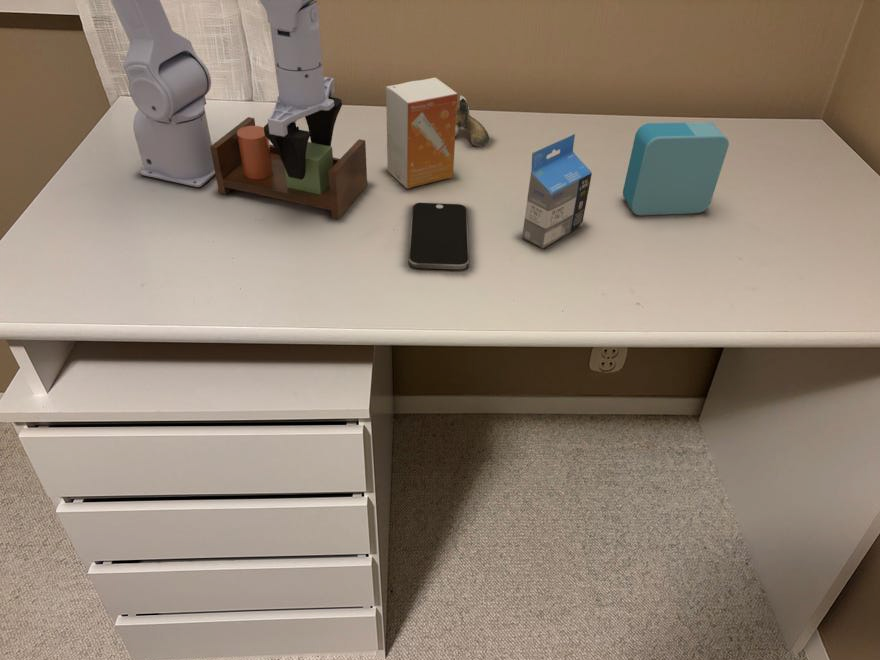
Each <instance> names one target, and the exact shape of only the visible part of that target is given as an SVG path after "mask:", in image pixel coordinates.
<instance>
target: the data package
mask: <svg viewBox="0 0 880 660" xmlns="http://www.w3.org/2000/svg"><path fill="white" fill-rule="evenodd" d="M729 145H730V142H729V139H728V137H727V136H726V135H725V134H724V133H723V132H722V131H721V130H720V129H719V128H718V127H717V126H716V124H715V123H713V122H710V121H708V122H707V121H700V122H699V121H696V122H694V121H693V122H691V121H690V122H648V123H644V124H642V125H641V126H640V127H639V128H638V129H637V130H636V132H635V135H634V139H633V144H632V149H631V153H630V158H629V161H628V165H627V171H626V176H625V180H624V184H623V188H622V196H623V198H624V200H625V202H626V203H627V205H628V206H629V209H630V210H631V211H632V212H633V214H635V215H636V216H661V215H663V216H665V215H685V214H701V213H703V212H704V211H706V210H707V209H708V208H709V207H710V205H711V203H712V199H713V196H714V193H715V190H716V187H717V184H718V181H719V177H720V175H721V171H722V167H723V165H724V162H725V159H726V156H727V152H728V149H729V147H730V146H729Z"/></svg>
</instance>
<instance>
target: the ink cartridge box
mask: <svg viewBox="0 0 880 660" xmlns="http://www.w3.org/2000/svg"><path fill="white" fill-rule="evenodd" d="M575 138H576V133H573V134H571V135H569V136H567V137H565V138H563V139H561V140H558V141H555V142H553V143H551V144H549V145H547V146H544V147H543V148H540V149H538V150H536V151H534V152H532V153H531V168H530V177H529V185H528V193H527V198H526V199H527V200H526V206H525V213H524V215H525V216H524V220H523V221H524V222H523V228H522V235H521V238H522V239H524V240H525V241H528V242H529V243H531V244H533V245H535V246H537V247H538V248H541V249H545V248H547V247H548V246H550V245H552V244H553V243H555V242H557V241H558V240H560V239H562V238H563V237H565V236H567V235H569V234H570V233H572V232H574V231H575V230H577V229H579V228H580V227H582V226H583V223H584V217H585V211H586V206H587V201H588V196H589V189H590V186H591V179H592V175H593V173H592V170H590V169H589V167H587V165H586V164H585V163H584V162H583V161H582V160H581V158H579V157H578V156H577V155H576V154H575V152H574V147H575V146H574V144H575ZM554 150H555V151H556V152H558V151H559V153H557V154H555V155H552V156H551V157H548V156H549V155H551V154H552V153H553V151H554ZM547 157H548V158H547Z"/></svg>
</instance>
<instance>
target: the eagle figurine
mask: <svg viewBox="0 0 880 660" xmlns="http://www.w3.org/2000/svg"><path fill="white" fill-rule="evenodd" d="M458 98H459V101H458V102H459V107H458V108H457V112H456V130H455V137H456V136H457V135H458V133H459V130H460V129H461V128H463V129H464V130H466V131H467V132H468V134H469V138H470V143H471V145H472V146H475V147H480V148H482V147H485V146H486V145H488V143H489V142H490V141H489V140H490V136H489V133H488V131H487V129H486V128H485V126H483V124H482V123H481V122H479V121H478V120H477V119H476V118H474V117H472V115H470V107H469V105H468V101H467V99H466V98H465V96H463V95H459V97H458Z"/></svg>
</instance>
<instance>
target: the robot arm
mask: <svg viewBox="0 0 880 660" xmlns="http://www.w3.org/2000/svg"><path fill="white" fill-rule="evenodd" d="M258 1H259V2H260V4H261V5H262V6H263V7H264V8H263V9H264V10H265V12H266V16H267V23H269V27H270V37H271V43H272V52H273V60H274V67H275V75H276V84H277V93H278V96H277V99H276V101H275V105H274V107H273V111H272V113H271V115H270V116H269V117H268V118H267V123H266V124H265V125H264V126H263V128H264V134H265V136H266V137H267V138H268V139H269V143H271V145H273V146H274V147H275V149H276V150H277V152H278V154H279V156H280V158H281V160H282V162H283V165H284V167H285V170H286V172H287V174H288V176H289V177H291V178H296V179H301V180H302V179H303V178H304V177H305V172H306V148H307V143H308V142H309V140H310V142H311V143H316V144H320V145H325V146H330V147H332V141H333V134H334V129H335V124H336V121H337V118H338V115H339V113H340V111H341V108H342V106H343V100H342V99H341V98H339V97H334V96H332V95H334V94H336V93H335V92H336V91H335V90H336V89H335V78H333V77H327V76H325V75H324V74H325V73H324V64H323V52H322V51H323V50H322V37H321V27H320V16H319V5H318V0H258ZM110 2H111V5H112V6H113V8H114V11H115V13H116V15H117V17H118V19H119V22H120V24H121V26H122V28H123V31H124V32H125V35H126V38H127V39H128V42H129V45H128V49H127V52H126V54H125V57H124V61H123V63H122V68H123V70H124V73H125V75H126V77H127V80H128V88H129V94H130V97H131V99H132V101H133V103H134V105H135V106H136V108H137V111H136V112H135V115H134V117H133V133H134V137H135V141H136V144H137V148H138V152H139V155H140V160H141V164H142V167H143V169H142V170H141V171H140V174H141V176H145V177H148V178H153V179H157V180H162V181H167V182H172V183H176V184H181V185H184V186H185V185H186V186H190V187H195V188H200V187H202V186H204V185H205V184H206V183H208V181H209V180H211V179H212V178H213V177H214V176H216V174H215V169H214V164H213V159H212V154H211V149H210V146H211V145H213V144H212V138H211V133H210V128H209V123H208V117H207V113H206V108H205V105H207V100H206V96H207V94H208V93H209V92H210V90H211V87H212V78H211V77H212V76H211V74H210V71H209V69H208V67H207V66H206V64H205V62H204V61H203V60H202V59H201V58H200V57H199V55H198V54H197V53H196V50H195V49H194V47H193V45H192V42H191V41H190V39H188V38H186V37H184V36H182V35H181V34H179V33H178V32H175V31H174V30H173V28H172V25H171V24H170V20H169V18H168V16H167V14H166V12H165V8H164V7H163V5H162V2H161V0H110ZM303 118H304V119H305V122H306V125H307V128H308V130H303V129H300V128H299V126H297V123H296V122H297V121H298V120H301V119H303Z"/></svg>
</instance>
